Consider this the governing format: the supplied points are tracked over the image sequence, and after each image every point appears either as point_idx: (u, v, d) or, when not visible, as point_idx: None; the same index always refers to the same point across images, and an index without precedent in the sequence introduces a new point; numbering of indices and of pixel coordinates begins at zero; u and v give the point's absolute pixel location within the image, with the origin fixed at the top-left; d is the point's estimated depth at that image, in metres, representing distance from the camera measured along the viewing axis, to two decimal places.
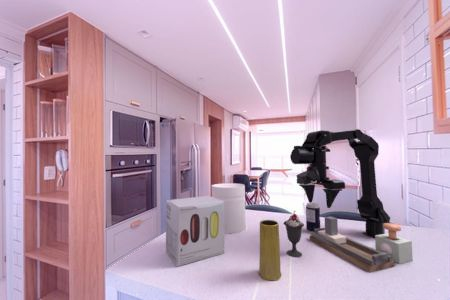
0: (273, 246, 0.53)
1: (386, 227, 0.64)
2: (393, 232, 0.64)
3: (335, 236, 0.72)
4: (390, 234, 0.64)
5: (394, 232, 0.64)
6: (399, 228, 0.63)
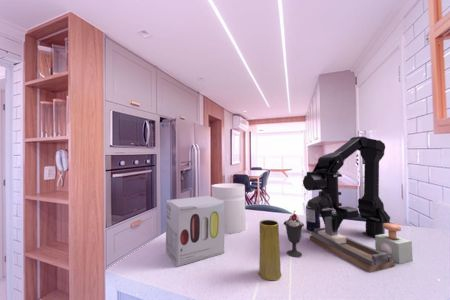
0: (273, 246, 0.53)
1: (386, 227, 0.64)
2: (393, 232, 0.64)
3: (335, 236, 0.72)
4: (390, 234, 0.64)
5: (394, 232, 0.64)
6: (399, 228, 0.63)
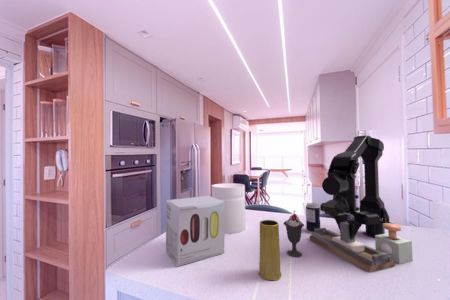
0: (273, 246, 0.53)
1: (386, 227, 0.64)
2: (393, 232, 0.64)
3: (352, 244, 0.65)
4: (390, 234, 0.64)
5: (394, 232, 0.64)
6: (399, 228, 0.63)
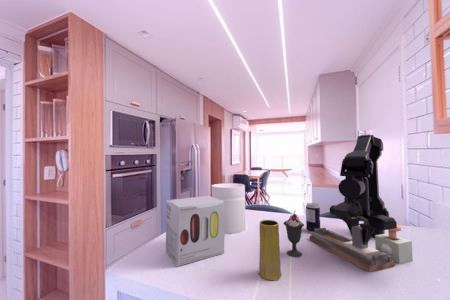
0: (273, 247, 0.53)
1: None
2: (393, 232, 0.64)
3: (366, 250, 0.61)
4: (390, 234, 0.64)
5: (394, 232, 0.64)
6: (399, 228, 0.63)
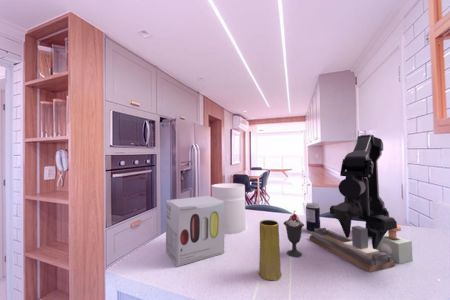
0: (273, 247, 0.53)
1: None
2: (393, 232, 0.64)
3: (366, 250, 0.61)
4: (390, 234, 0.64)
5: (394, 232, 0.64)
6: (399, 228, 0.63)
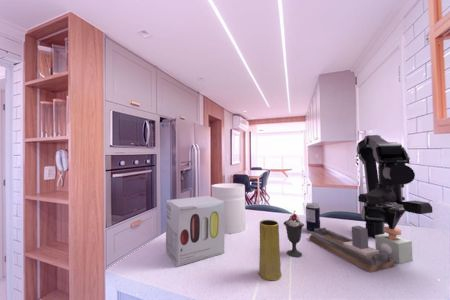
0: (273, 246, 0.53)
1: (386, 231, 0.64)
2: (393, 236, 0.64)
3: (366, 250, 0.61)
4: (390, 238, 0.64)
5: (394, 236, 0.64)
6: (399, 232, 0.63)
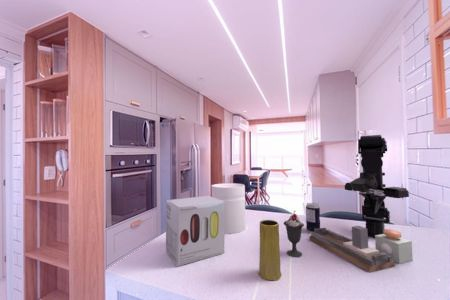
0: (273, 246, 0.53)
1: (386, 234, 0.64)
2: (393, 239, 0.64)
3: (366, 250, 0.61)
4: None
5: (394, 239, 0.64)
6: (399, 235, 0.63)
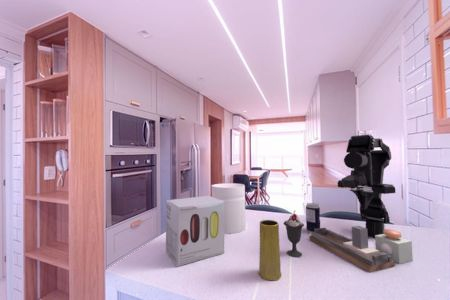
0: (273, 246, 0.53)
1: (386, 234, 0.64)
2: (393, 239, 0.64)
3: (366, 250, 0.61)
4: None
5: (394, 239, 0.64)
6: (399, 235, 0.63)
